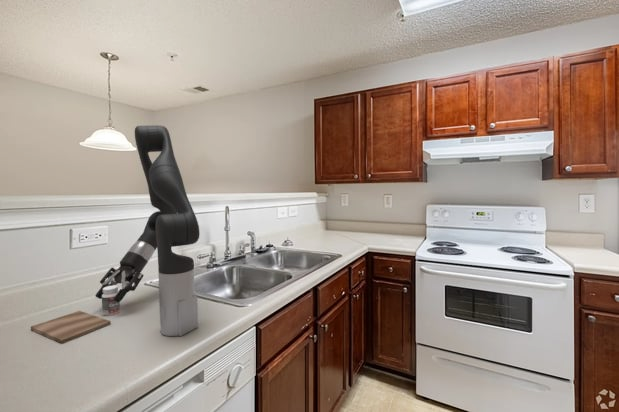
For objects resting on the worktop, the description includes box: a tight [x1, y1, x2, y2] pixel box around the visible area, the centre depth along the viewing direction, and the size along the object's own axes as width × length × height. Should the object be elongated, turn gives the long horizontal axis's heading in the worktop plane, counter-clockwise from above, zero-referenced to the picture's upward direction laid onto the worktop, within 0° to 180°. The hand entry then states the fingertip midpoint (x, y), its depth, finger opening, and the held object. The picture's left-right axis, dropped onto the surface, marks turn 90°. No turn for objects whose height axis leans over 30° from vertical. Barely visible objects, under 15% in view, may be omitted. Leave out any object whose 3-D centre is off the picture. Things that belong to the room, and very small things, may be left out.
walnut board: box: [30, 310, 112, 344], centre depth 84 cm, size 17×12×1 cm
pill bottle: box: [101, 285, 121, 316], centre depth 93 cm, size 5×5×8 cm
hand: (106, 299), depth 92 cm, fingers open, 8 cm apart
